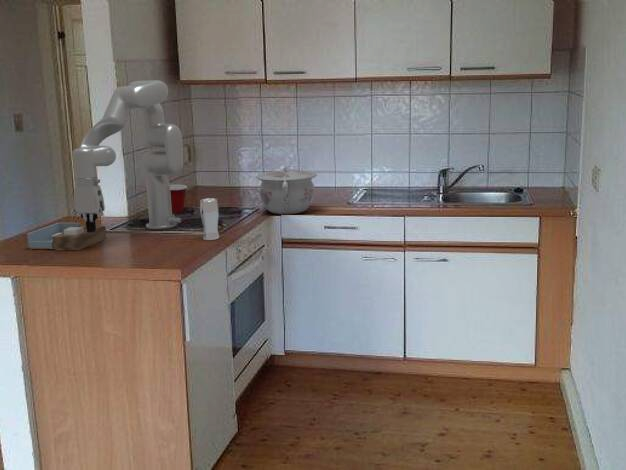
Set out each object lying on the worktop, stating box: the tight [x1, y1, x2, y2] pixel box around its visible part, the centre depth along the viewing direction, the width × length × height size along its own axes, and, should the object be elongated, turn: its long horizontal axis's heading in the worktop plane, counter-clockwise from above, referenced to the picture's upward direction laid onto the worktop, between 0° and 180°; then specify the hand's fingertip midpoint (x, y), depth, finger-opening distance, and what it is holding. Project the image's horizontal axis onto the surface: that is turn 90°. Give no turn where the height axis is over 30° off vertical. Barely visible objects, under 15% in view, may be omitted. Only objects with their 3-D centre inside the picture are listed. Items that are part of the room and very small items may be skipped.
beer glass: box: [199, 197, 220, 241], centre depth 264 cm, size 7×7×15 cm
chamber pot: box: [255, 166, 318, 216], centre depth 311 cm, size 28×28×21 cm
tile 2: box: [64, 227, 84, 236], centre depth 258 cm, size 5×5×2 cm
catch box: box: [26, 222, 81, 249], centre depth 265 cm, size 10×20×6 cm, turn 166°
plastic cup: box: [170, 184, 188, 213], centre depth 323 cm, size 11×11×12 cm
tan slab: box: [52, 225, 108, 251], centre depth 263 cm, size 10×20×5 cm, turn 166°
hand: (91, 231), depth 256 cm, fingers closed
